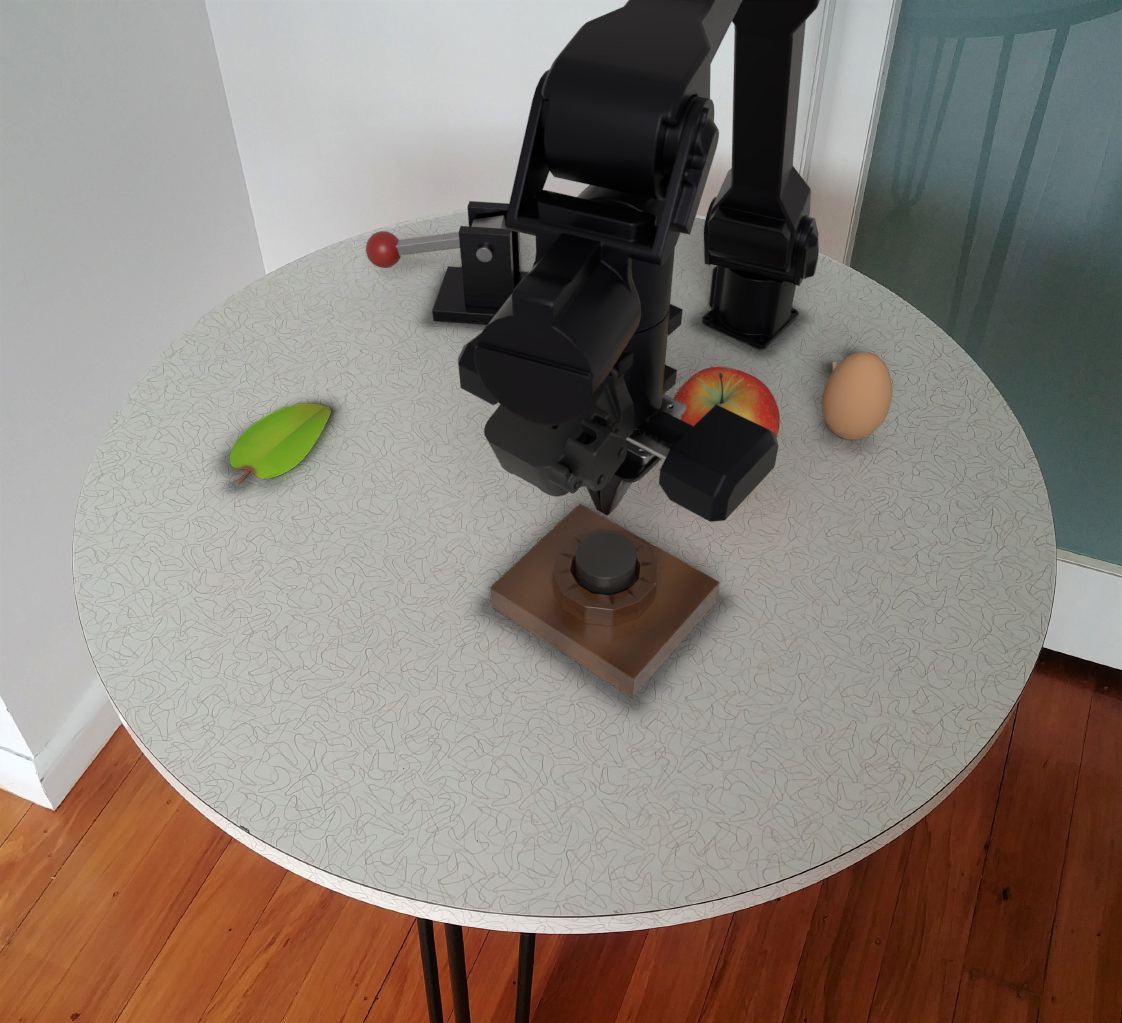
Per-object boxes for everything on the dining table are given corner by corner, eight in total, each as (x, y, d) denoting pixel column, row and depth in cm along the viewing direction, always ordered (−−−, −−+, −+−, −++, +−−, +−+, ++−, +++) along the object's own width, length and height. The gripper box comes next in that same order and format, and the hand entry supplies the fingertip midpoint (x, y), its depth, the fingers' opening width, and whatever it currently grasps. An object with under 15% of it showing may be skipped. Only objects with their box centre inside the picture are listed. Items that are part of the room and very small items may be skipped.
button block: (716, 601, 74) (722, 564, 71) (632, 698, 68) (635, 662, 65) (579, 523, 79) (580, 485, 76) (491, 607, 73) (488, 570, 70)
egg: (802, 434, 85) (819, 356, 79) (838, 403, 88) (857, 325, 82) (856, 465, 83) (878, 387, 77) (893, 432, 85) (916, 355, 79)
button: (647, 567, 71) (648, 550, 70) (611, 604, 69) (612, 587, 68) (599, 540, 73) (599, 522, 71) (563, 575, 71) (563, 558, 69)
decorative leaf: (221, 435, 86) (218, 426, 85) (327, 401, 88) (324, 392, 87) (240, 492, 81) (236, 483, 80) (351, 455, 83) (348, 446, 82)
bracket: (433, 321, 96) (423, 236, 89) (448, 276, 100) (440, 192, 94) (542, 329, 95) (540, 244, 88) (553, 284, 99) (552, 199, 93)
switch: (369, 277, 95) (356, 246, 93) (377, 256, 97) (365, 226, 95) (507, 260, 92) (497, 228, 90) (513, 239, 94) (503, 207, 92)
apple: (790, 486, 81) (811, 386, 74) (699, 521, 79) (712, 421, 71) (733, 423, 86) (748, 323, 79) (645, 454, 84) (653, 353, 76)
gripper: (375, 309, 54) (408, 516, 66) (677, 465, 46) (656, 670, 58) (514, 217, 60) (523, 421, 72) (803, 341, 52) (761, 549, 64)
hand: (606, 509), depth 66 cm, fingers closed
